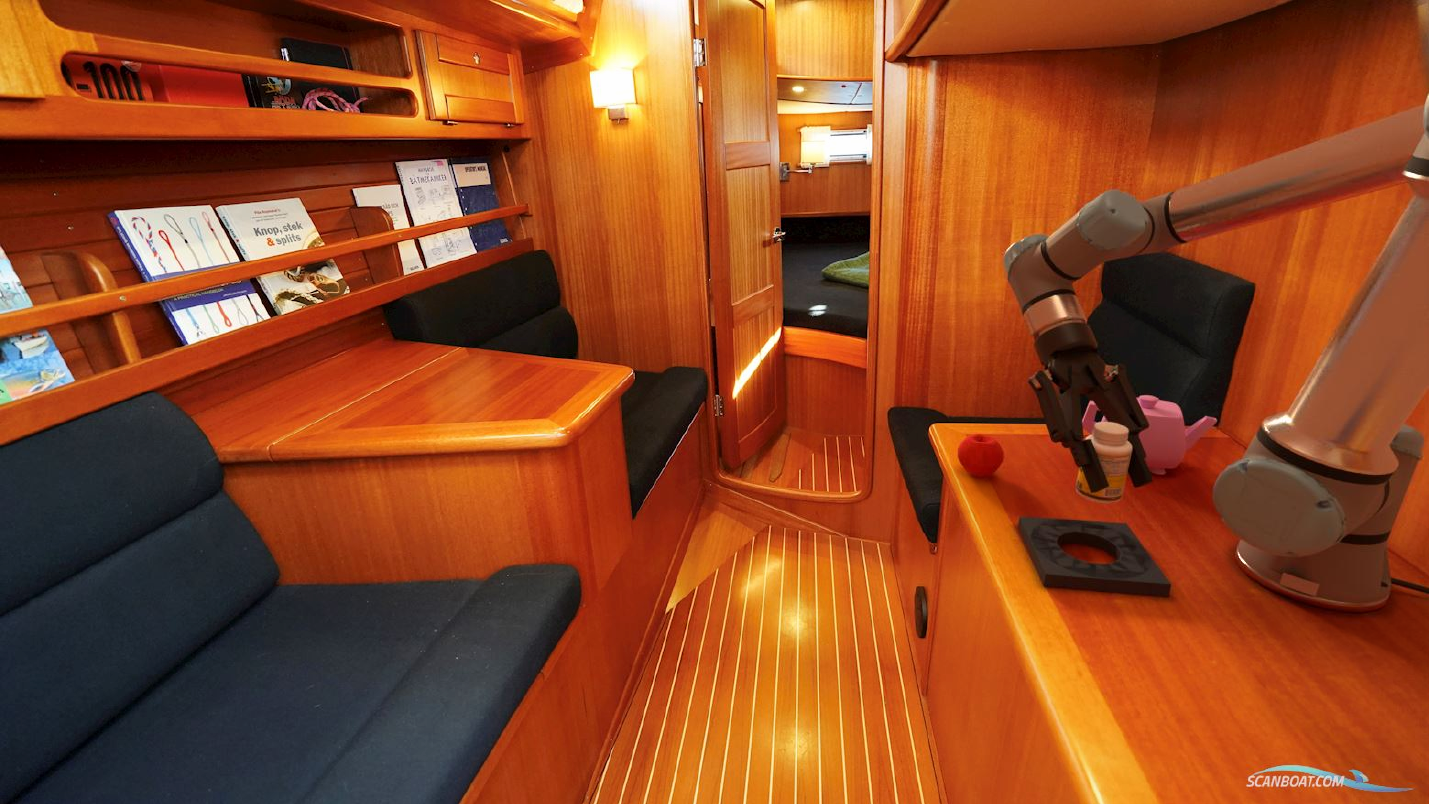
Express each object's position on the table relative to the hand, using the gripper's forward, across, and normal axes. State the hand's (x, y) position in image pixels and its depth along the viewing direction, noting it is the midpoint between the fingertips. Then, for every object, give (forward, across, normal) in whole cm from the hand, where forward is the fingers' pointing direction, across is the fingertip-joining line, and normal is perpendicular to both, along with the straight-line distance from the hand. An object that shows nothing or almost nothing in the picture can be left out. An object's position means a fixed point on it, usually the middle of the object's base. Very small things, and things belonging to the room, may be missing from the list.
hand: (1122, 486), depth 83 cm
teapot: (-11, -30, -30) cm, 44 cm away
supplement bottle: (0, 0, -5) cm, 5 cm away
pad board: (+7, 0, -12) cm, 14 cm away
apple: (-12, +1, -32) cm, 34 cm away
